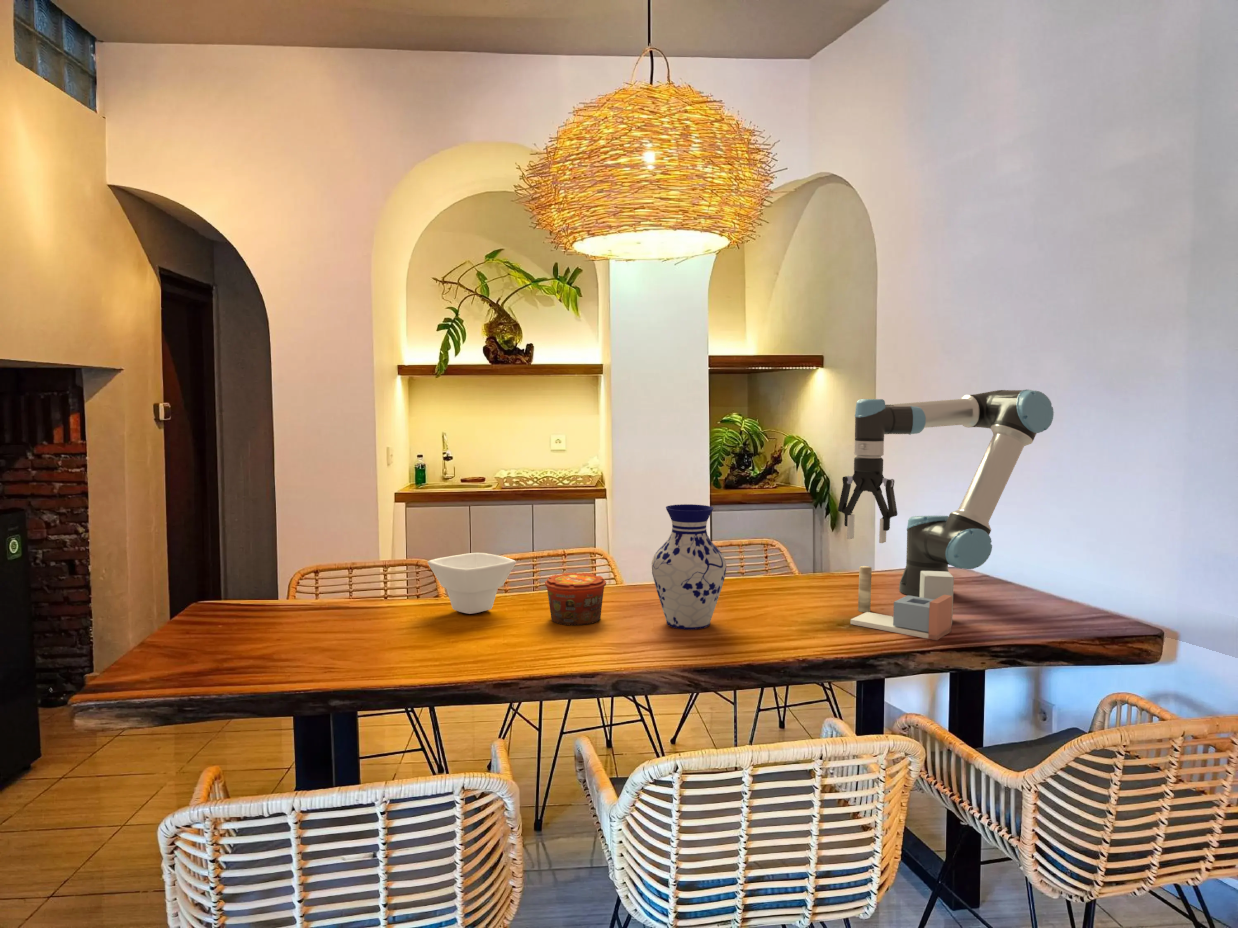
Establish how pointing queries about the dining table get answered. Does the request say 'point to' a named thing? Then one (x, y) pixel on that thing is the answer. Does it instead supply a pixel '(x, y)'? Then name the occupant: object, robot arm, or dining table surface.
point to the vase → (688, 569)
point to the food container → (575, 598)
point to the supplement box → (936, 585)
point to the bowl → (472, 579)
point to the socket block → (912, 613)
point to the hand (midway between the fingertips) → (866, 540)
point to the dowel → (864, 589)
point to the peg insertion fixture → (937, 628)
